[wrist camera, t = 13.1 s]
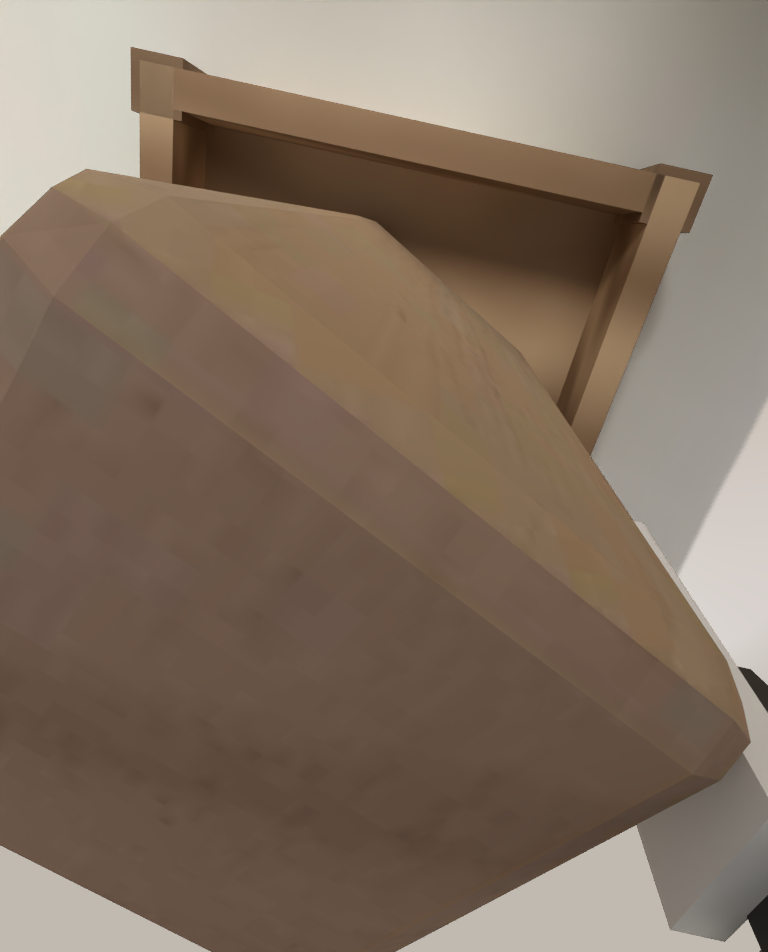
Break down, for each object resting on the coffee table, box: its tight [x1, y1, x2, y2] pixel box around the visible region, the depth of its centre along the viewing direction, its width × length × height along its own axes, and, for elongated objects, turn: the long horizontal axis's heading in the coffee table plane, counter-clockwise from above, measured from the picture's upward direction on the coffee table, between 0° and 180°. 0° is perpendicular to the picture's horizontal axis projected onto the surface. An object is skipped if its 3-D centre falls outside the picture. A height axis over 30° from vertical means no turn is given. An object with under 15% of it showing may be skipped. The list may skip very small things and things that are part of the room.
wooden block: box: [0, 169, 751, 952], centre depth 16 cm, size 10×10×20 cm
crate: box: [131, 47, 713, 455], centre depth 24 cm, size 20×20×4 cm
